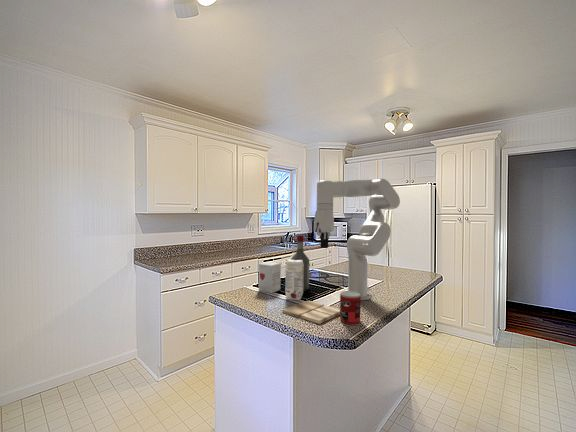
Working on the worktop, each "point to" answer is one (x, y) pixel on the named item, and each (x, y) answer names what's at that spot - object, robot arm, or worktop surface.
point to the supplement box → (269, 277)
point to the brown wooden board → (302, 308)
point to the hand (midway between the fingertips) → (324, 247)
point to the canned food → (350, 307)
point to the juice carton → (294, 279)
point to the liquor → (304, 258)
